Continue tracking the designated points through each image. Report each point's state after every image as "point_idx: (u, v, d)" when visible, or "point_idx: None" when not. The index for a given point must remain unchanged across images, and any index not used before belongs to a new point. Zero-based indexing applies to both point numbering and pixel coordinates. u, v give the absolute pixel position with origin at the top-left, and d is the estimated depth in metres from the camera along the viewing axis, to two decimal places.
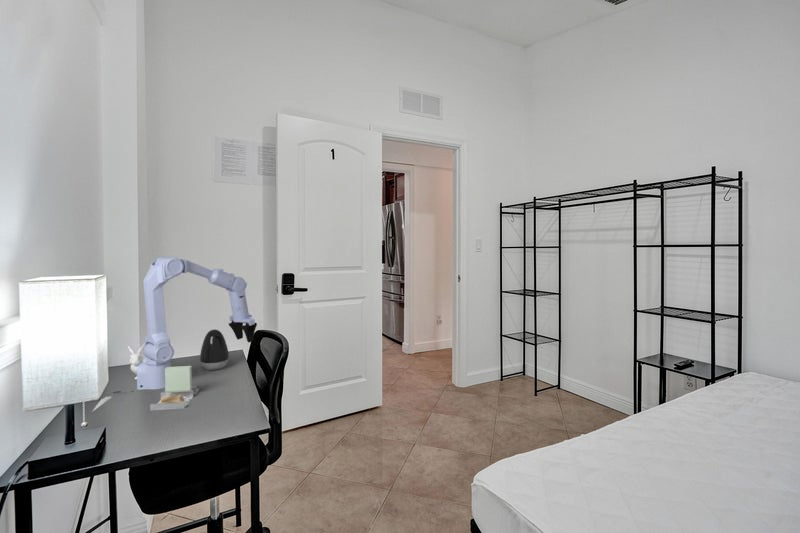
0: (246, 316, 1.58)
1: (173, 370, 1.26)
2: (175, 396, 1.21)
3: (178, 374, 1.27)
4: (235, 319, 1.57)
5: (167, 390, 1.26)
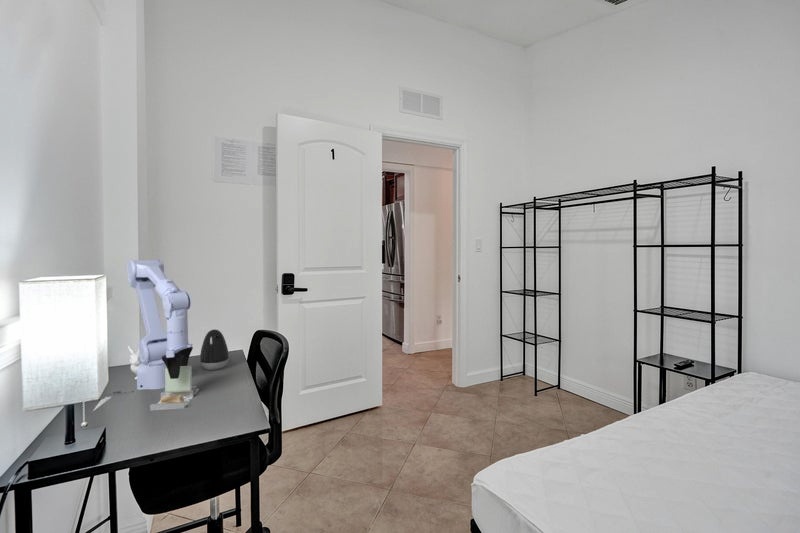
0: (177, 345, 1.25)
1: None
2: (175, 396, 1.21)
3: None
4: (167, 345, 1.26)
5: (167, 390, 1.26)
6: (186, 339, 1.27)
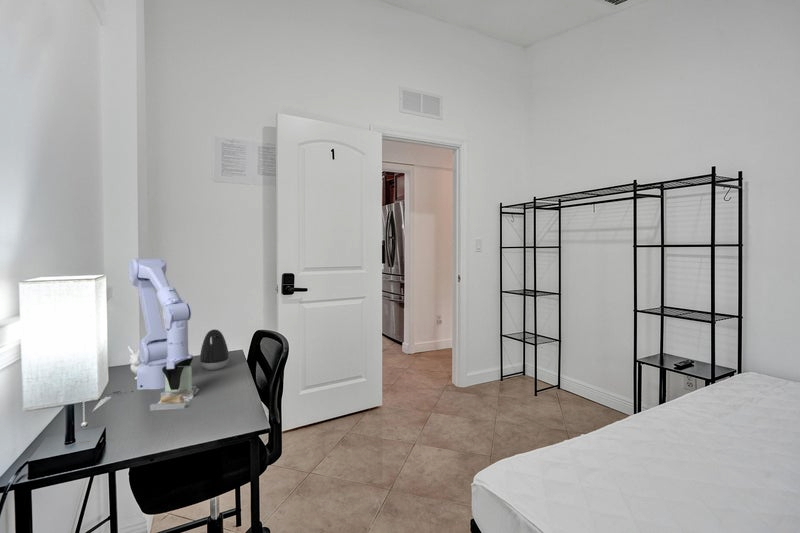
0: (177, 356, 1.25)
1: None
2: (175, 396, 1.21)
3: None
4: (167, 356, 1.26)
5: (167, 390, 1.26)
6: (186, 350, 1.27)
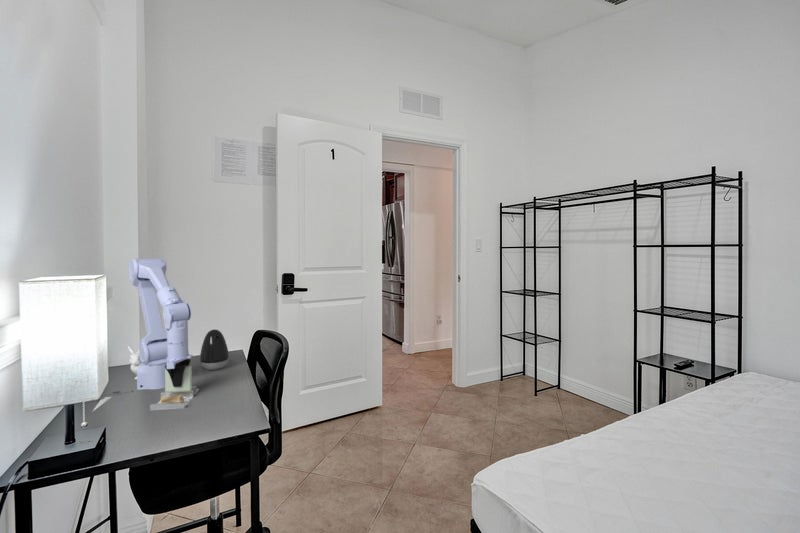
0: (177, 356, 1.25)
1: None
2: (175, 396, 1.21)
3: None
4: (167, 356, 1.26)
5: (167, 390, 1.26)
6: (186, 350, 1.27)
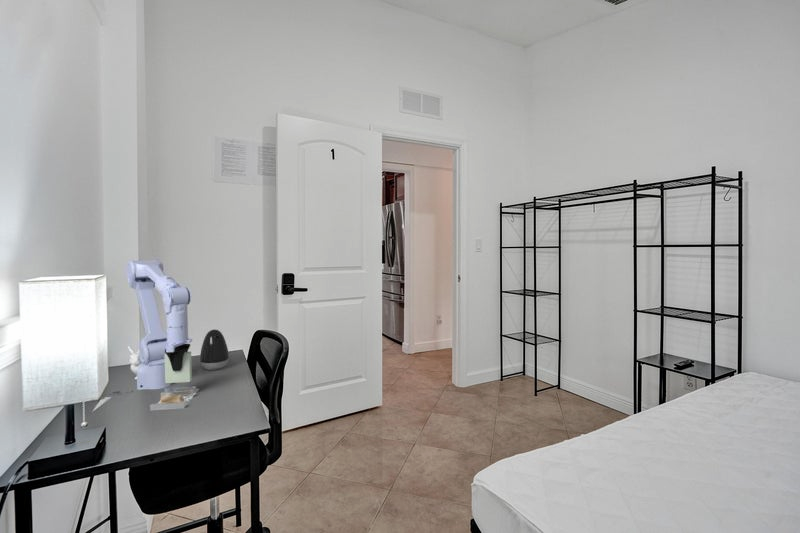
0: (176, 339, 1.25)
1: None
2: (175, 396, 1.21)
3: None
4: (167, 340, 1.26)
5: (167, 375, 1.26)
6: (186, 334, 1.27)
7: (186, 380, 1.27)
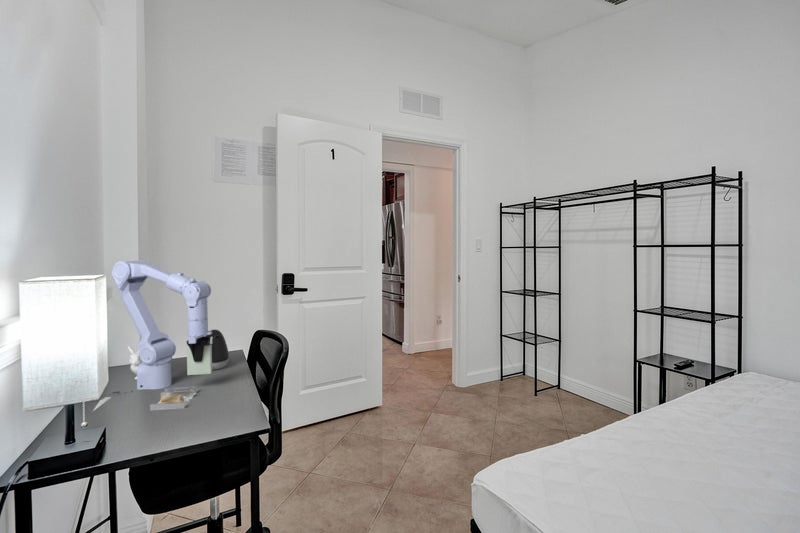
0: (198, 332, 1.31)
1: None
2: (175, 396, 1.21)
3: None
4: None
5: (189, 368, 1.32)
6: (206, 327, 1.33)
7: (207, 372, 1.34)
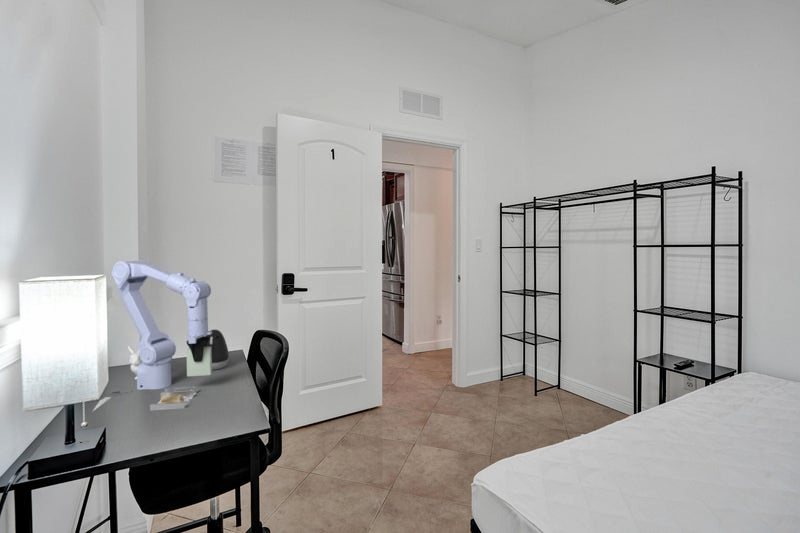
0: (198, 332, 1.31)
1: None
2: (175, 396, 1.21)
3: None
4: None
5: (188, 369, 1.32)
6: (206, 327, 1.33)
7: (207, 373, 1.34)
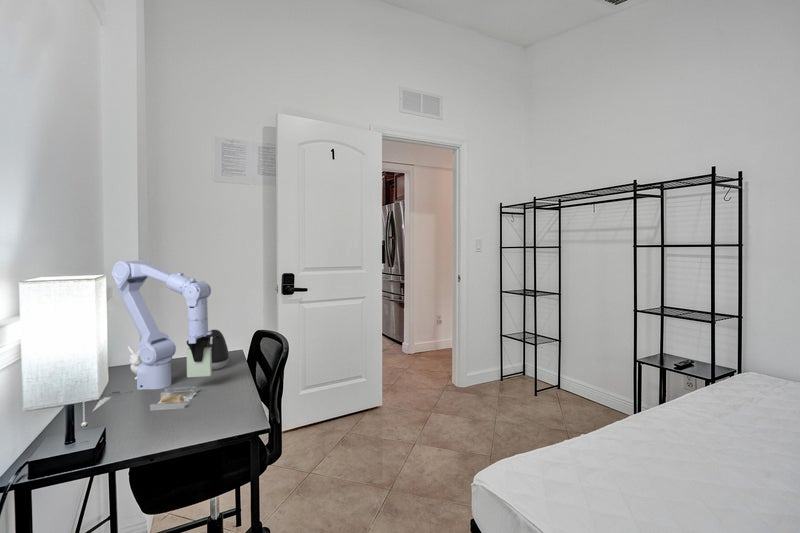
0: (198, 332, 1.31)
1: None
2: (175, 396, 1.21)
3: None
4: None
5: (188, 370, 1.32)
6: (206, 327, 1.33)
7: (207, 374, 1.34)
